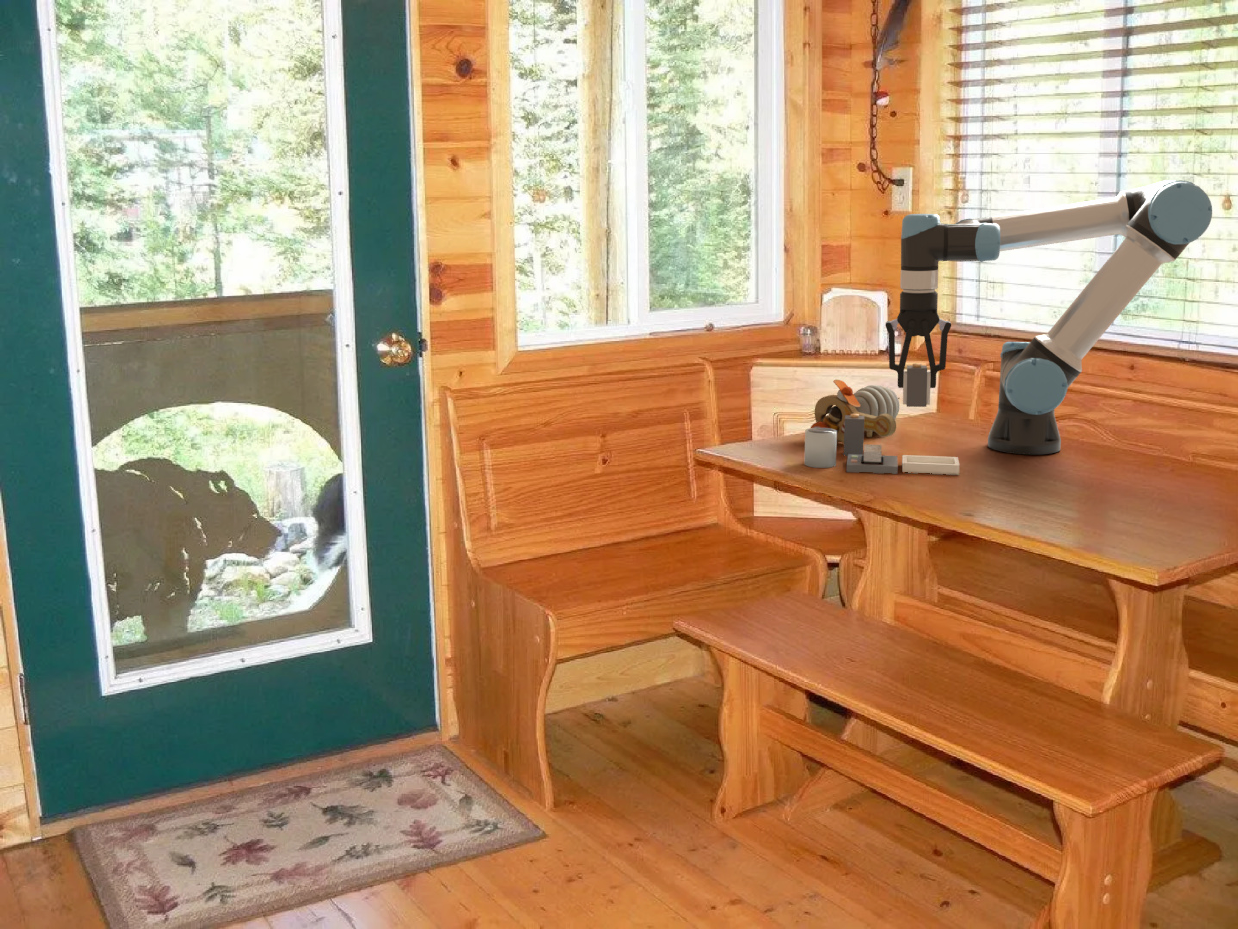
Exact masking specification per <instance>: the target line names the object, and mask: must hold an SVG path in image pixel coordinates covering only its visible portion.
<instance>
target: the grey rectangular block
mask: <svg viewBox="0 0 1238 929" xmlns="http://www.w3.org/2000/svg"><path fill="white" fill-rule="evenodd" d="M863 455H864V461H870V462H881V455H882V444H863Z"/></svg>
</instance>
